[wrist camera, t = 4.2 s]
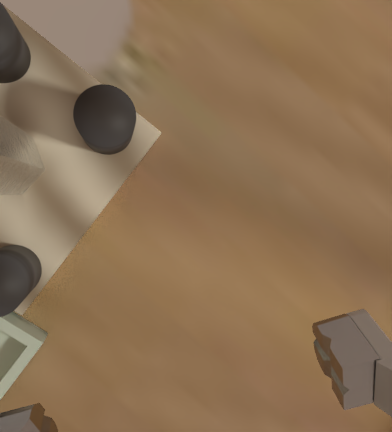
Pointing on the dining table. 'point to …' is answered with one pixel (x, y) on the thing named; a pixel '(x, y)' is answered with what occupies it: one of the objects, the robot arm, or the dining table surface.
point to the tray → (16, 347)
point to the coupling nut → (17, 159)
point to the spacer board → (58, 156)
